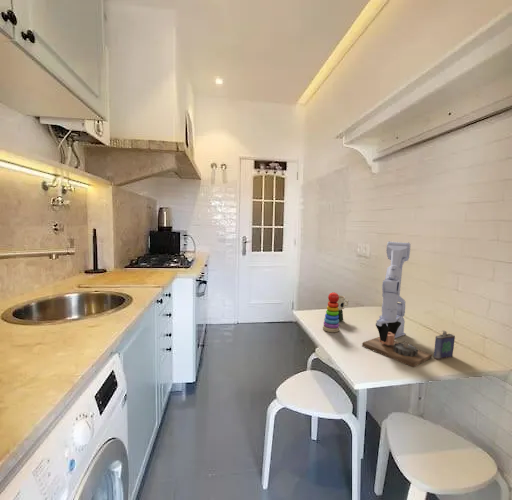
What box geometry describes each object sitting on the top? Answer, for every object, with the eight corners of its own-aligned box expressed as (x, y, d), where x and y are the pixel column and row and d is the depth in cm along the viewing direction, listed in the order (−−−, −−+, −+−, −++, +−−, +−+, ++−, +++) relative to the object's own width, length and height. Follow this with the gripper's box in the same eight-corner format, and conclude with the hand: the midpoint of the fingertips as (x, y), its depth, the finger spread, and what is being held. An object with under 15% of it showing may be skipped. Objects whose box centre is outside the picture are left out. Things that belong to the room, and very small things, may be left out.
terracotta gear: (384, 338, 132) (385, 329, 131) (396, 343, 127) (397, 334, 127) (376, 341, 128) (377, 332, 128) (389, 346, 124) (389, 337, 123)
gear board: (381, 339, 138) (382, 327, 137) (431, 358, 120) (432, 344, 119) (362, 345, 130) (363, 333, 129) (413, 367, 112) (414, 353, 111)
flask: (437, 360, 118) (440, 333, 117) (430, 356, 121) (433, 331, 120) (454, 357, 121) (457, 331, 120) (447, 354, 124) (450, 328, 123)
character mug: (328, 322, 159) (329, 298, 157) (325, 317, 166) (326, 294, 164) (349, 322, 158) (350, 298, 157) (345, 318, 165) (346, 295, 164)
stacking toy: (322, 331, 145) (324, 293, 143) (322, 326, 152) (324, 289, 150) (339, 333, 143) (341, 295, 141) (339, 327, 151) (341, 291, 149)
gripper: (390, 303, 133) (388, 332, 135) (370, 308, 125) (368, 339, 127) (406, 307, 128) (403, 338, 129) (386, 312, 119) (384, 345, 121)
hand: (387, 339), depth 127 cm, fingers closed on terracotta gear, 6 cm apart
